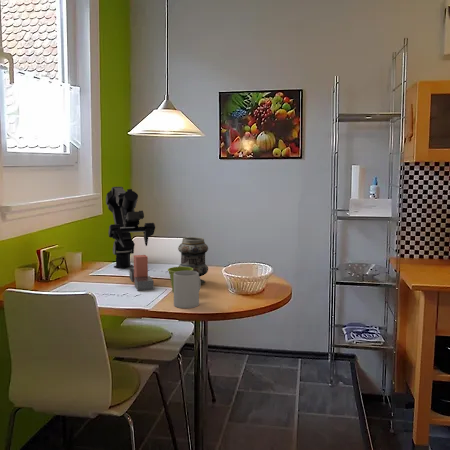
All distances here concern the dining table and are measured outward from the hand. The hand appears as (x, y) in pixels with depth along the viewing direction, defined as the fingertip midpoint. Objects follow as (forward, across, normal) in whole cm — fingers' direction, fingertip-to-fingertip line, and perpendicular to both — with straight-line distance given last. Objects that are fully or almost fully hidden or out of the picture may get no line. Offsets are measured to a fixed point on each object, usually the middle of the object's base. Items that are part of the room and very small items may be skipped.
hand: (135, 246), depth 211 cm
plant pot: (+29, +10, -9) cm, 32 cm away
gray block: (+15, 0, +4) cm, 16 cm away
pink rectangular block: (+15, 0, +4) cm, 16 cm away
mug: (+40, +8, -20) cm, 46 cm away
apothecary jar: (+21, +19, -1) cm, 28 cm away
